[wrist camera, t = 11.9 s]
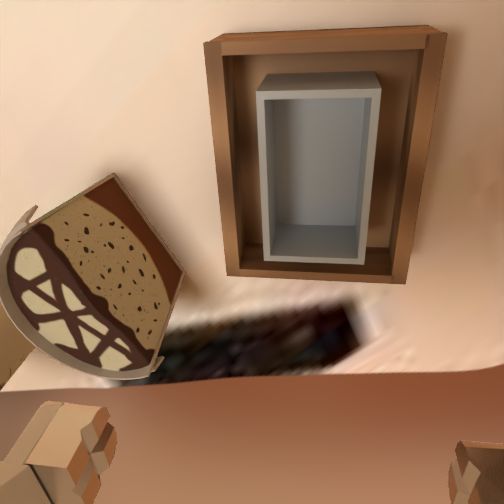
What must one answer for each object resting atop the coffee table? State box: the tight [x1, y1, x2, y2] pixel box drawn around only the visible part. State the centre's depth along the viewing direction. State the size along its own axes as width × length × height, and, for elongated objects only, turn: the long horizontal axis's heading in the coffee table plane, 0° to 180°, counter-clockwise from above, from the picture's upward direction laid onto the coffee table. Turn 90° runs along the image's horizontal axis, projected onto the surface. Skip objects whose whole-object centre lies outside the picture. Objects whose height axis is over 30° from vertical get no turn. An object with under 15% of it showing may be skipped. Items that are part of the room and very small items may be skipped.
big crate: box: [203, 25, 447, 284], centre depth 26 cm, size 14×12×4 cm
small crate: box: [256, 71, 382, 265], centre depth 26 cm, size 10×6×4 cm, turn 3°
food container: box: [0, 173, 186, 380], centre depth 30 cm, size 12×6×10 cm, turn 29°
